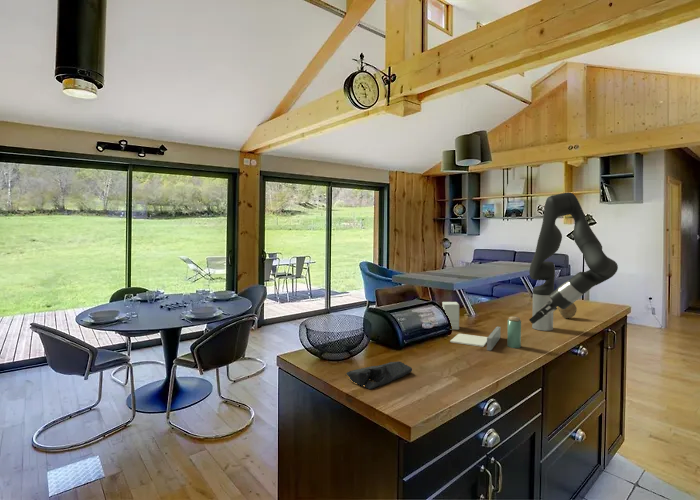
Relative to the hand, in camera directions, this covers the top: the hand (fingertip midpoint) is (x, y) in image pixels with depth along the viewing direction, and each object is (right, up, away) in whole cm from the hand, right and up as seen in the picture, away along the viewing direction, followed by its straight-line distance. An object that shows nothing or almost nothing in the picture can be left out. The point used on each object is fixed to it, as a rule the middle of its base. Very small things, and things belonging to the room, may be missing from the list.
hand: (534, 319), depth 157 cm
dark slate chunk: (-65, -15, -26) cm, 71 cm away
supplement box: (-24, -11, +37) cm, 46 cm away
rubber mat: (-21, -12, +15) cm, 28 cm away
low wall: (-13, -12, +10) cm, 20 cm away
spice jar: (-6, -12, +6) cm, 15 cm away
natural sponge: (+45, -10, +56) cm, 72 cm away
